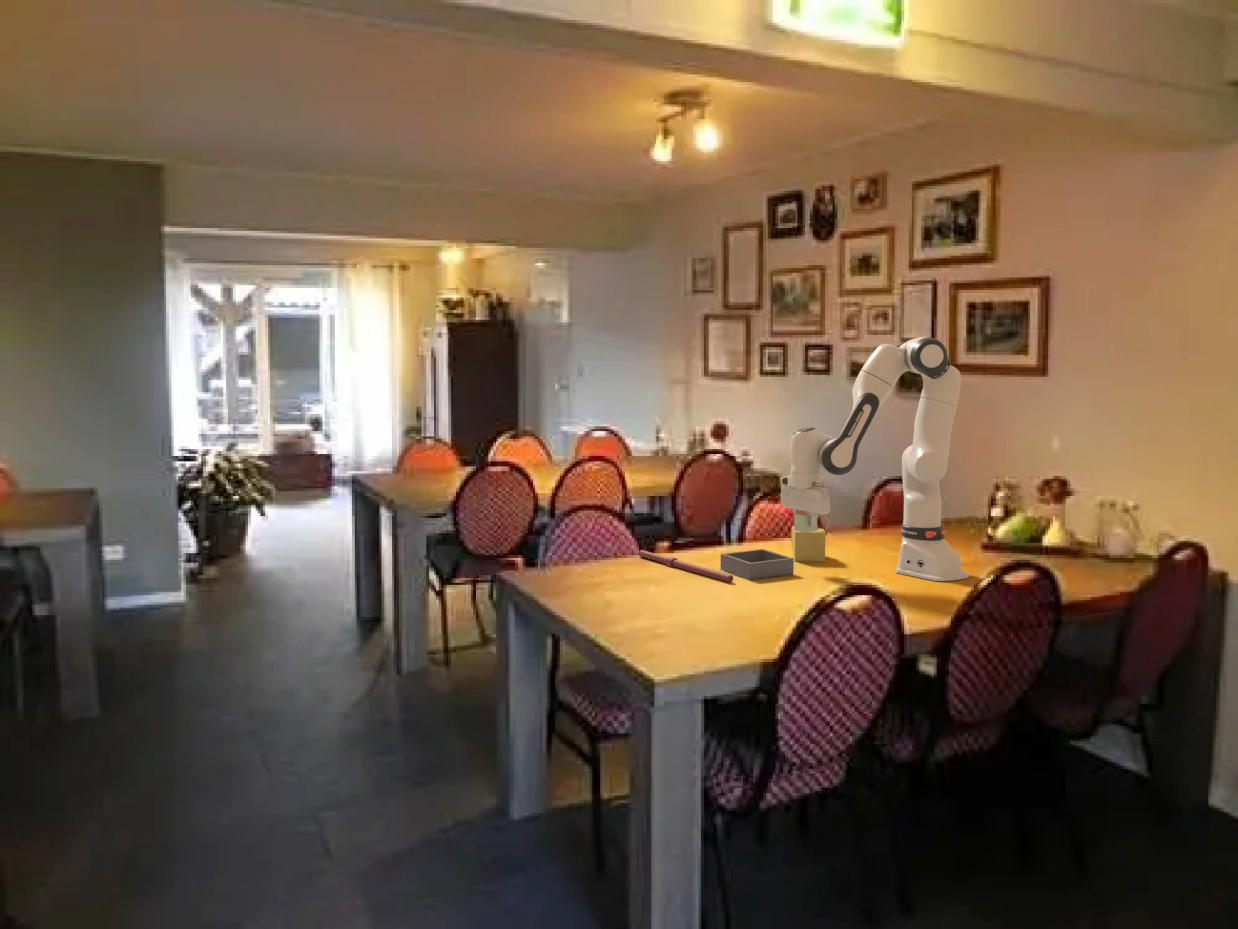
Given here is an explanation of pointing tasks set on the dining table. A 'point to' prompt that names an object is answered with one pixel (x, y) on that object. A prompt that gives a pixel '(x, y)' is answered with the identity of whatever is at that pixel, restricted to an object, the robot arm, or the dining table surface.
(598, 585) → the dining table surface
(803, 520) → the green cube
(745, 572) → the bin
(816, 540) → the cheese
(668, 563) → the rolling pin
